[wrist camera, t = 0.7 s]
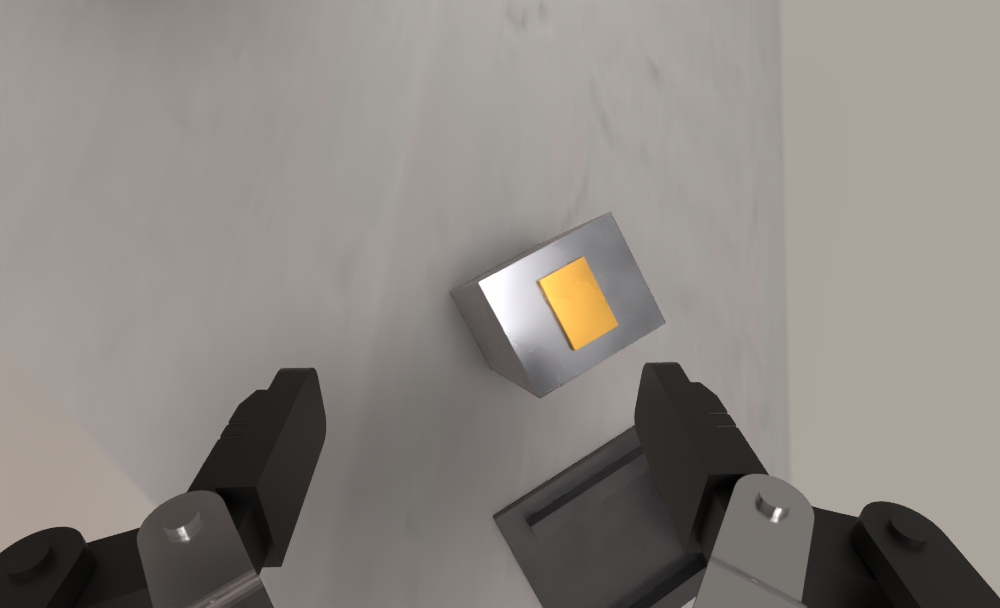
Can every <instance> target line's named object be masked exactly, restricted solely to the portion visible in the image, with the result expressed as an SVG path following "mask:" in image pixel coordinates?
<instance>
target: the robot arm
mask: <svg viewBox="0 0 1000 608" xmlns="http://www.w3.org/2000/svg"><path fill="white" fill-rule="evenodd" d="M634 419H635V429H636V433H637V436H638V439H639V441H640V444H641V446H642V449H643V451H644V454H645V456H646V459H647V461H648V464H649V466H650V469H651V471H652V474H653V476H654V479H655V481H656V484H657V486H658V489H659V491H660V494H661V496H662V499H663V501H664V504H665V506H666V509H667V511H668V513H669V516H670V518H671V521H672V523H673V526H674V528H675V531H676V533H677V536H678V538H679V541H680V543H681V546H682V548H683V551H684V553H697V552H703V554H704V556H705V558H706V561H707V563H708V564H707V567H706V570H705V573H704V576H703V579H702V582H701V585H700V587H699V590H698V593H697V596H696V599H695V602H694V605H693V608H1000V598H999V597H998V596H997V594H996V593H995V592H994V591H993V590H992V588H991V587H990V586H989V585H988V584H987V583H986V582H985V580H984V579H983V578H982V577H981V576H980V574H979V573H978V572H977V571H976V570H975V569H974V568H973V566H972V565H971V564H970V563H969V562H968V560H967V559H966V558H965V557H964V556H963V555H962V553H961V552H960V551H959V550H958V549H957V548H956V546H955V545H954V544H953V543H952V542H951V541H950V539H949V538H948V537H947V536H946V535H945V534H944V533H943V532H942V530H941V529H940V528H938V527H937V526H936V525H935V524H934V523H933V522H931V521H930V520H929V519H927V518H926V517H924V516H922V515H921V514H919V513H918V512H916V511H914V510H912V509H910V508H907V507H905V506H902V505H899V504H895V503H891V502H882V501H880V502H873V503H870V504H868V505H866V506H865V507H864V508H863V510H862V512H861V514H860V516H859V517H854V516H850V515H846V514H841V513H837V512H833V511H828V510H824V509H820V508H816V507H813V506H811V505H810V503H809V501H808V500H807V499H806V498H805V496H804V495H803V494H802V493H801V492H800V491H798V490H797V489H796V488H795V487H793V486H792V485H790V484H789V483H787V482H785V481H783V480H781V479H779V478H776V477H773V476H769V474H768V473H767V471H766V470H765V468H764V467H763V465H762V464H761V462H760V461H759V459H758V457H757V456H756V454H755V453H754V451H753V450H752V448H751V447H750V445H749V444H748V442H747V441H746V439H745V438H744V436H743V435H742V433H741V432H740V430H739V429H738V428H736V424H735V422H734V421H733V419H732V418H731V416H730V415H728V414H727V410H726V409H725V407H724V406H723V404H722V403H721V401H720V400H719V398H718V397H717V395H715V394H714V393H713V392H712V391H710V390H709V389H708V388H706V387H705V386H704V385H703V384H701V383H700V382H690V381H689V379H688V378H687V376H686V374H685V373H684V371H683V369H682V368H681V366H680V365H679V364H678V363H677V362H662V363H646V364H645V365H644V367H643V370H642V375H641V381H640V386H639V391H638V396H637V402H636V407H635V415H634ZM325 435H326V416H325V410H324V405H323V400H322V395H321V390H320V385H319V380H318V376H317V372H316V370H315V369H314V368H281V369H280V370H279V371H278V372H277V374H276V376H275V378H274V380H273V382H272V383H271V385H270V387H269V389H268V390H256V391H255V392H254V393H253V394H251V395H250V396H249V397H248V398H247V399H245V400H244V401H243V402H242V403H241V404H239V406H238V407H237V409H236V411H235V412H234V414H233V416H232V417H231V419H230V421H229V425H227V426H226V427H225V429H224V431H223V432H222V434H221V436H220V437H221V438H220V440H218V441H217V442H216V444H215V446H214V447H213V449H212V451H211V452H210V454H209V456H208V457H207V459H206V461H205V462H204V464H203V466H202V468H201V469H200V471H199V473H198V474H197V476H196V478H195V479H194V481H193V483H192V484H191V486H190V488H189V489H188V491H187V493H184V494H181V495H178V496H176V497H174V498H172V499H170V500H168V501H166V502H165V503H163V504H161V505H160V506H159V507H157V508H156V509H155V510H154V511H153V512H152V513H151V514H150V515H149V516H148V517H147V518H146V519H145V520H144V522H143V524H142V525H141V527H140V528H137V529H134V530H131V531H127V532H124V533H121V534H117V535H113V536H109V537H106V538H103V539H99V540H96V541H92V542H89V543H86V541H85V540H84V538H83V536H82V535H81V533H80V532H79V531H77V530H76V529H73V528H69V527H55V528H49V529H45V530H42V531H39V532H36V533H33V534H31V535H29V536H27V537H24V538H23V539H21V540H19V541H17V542H15V543H14V544H13V545H11V546H9V547H8V548H6V549H5V550H4V551H2V552H1V553H0V608H274V607H273V605H272V603H271V601H270V599H269V596H268V594H267V592H266V590H265V587H264V585H263V583H262V581H261V579H260V577H259V574H260V572H261V569H262V567H281V566H282V563H283V560H284V557H285V554H286V552H287V549H288V546H289V543H290V540H291V537H292V534H293V531H294V528H295V525H296V522H297V520H298V517H299V514H300V511H301V508H302V505H303V502H304V499H305V496H306V493H307V490H308V488H309V485H310V482H311V479H312V476H313V473H314V470H315V467H316V464H317V461H318V458H319V456H320V453H321V450H322V447H323V444H324V440H325Z"/></svg>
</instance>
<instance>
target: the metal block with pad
mask: <svg viewBox="0 0 1000 608" xmlns="http://www.w3.org/2000/svg"><path fill="white" fill-rule="evenodd" d="M450 294H451V296H452V298H453V300H454V301H455V303H456V305H457V307H458V309H459V311H460V313H461V314H462V316H463V318H464V320H465V322H466V324H467V326H468V327H469V329H470V331H471V333H472V335H473V337H474V339H475V341H476V342H477V344H478V346H479V348H480V350H481V352H482V354H483V355H484V357H485V359H486V361H487V363H488V365H489V367H490V368H491V369H492V370H494V371H495V372H497V373H499V374H500V375H502V376H504V377H505V378H507V379H508V380H510V381H512V382H513V383H515V384H517V385H518V386H520V387H522V388H523V389H525V390H527V391H528V392H530V393H532V394H533V395H535V396H537V397H538V398H542V397H543V396H545V395H547V394H548V393H550V392H552V391H553V390H555V389H557V388H558V387H560V386H562V385H563V384H565V383H567V382H568V381H570V380H572V379H573V378H575V377H577V376H578V375H580V374H582V373H583V372H585V371H587V370H588V369H590V368H592V367H593V366H595V365H597V364H598V363H600V362H602V361H603V360H605V359H607V358H608V357H610V356H612V355H613V354H615V353H617V352H618V351H620V350H622V349H623V348H625V347H627V346H628V345H630V344H632V343H633V342H635V341H637V340H638V339H640V338H642V337H643V336H645V335H647V334H648V333H650V332H652V331H653V330H655V329H657V328H658V327H660V326H662V325H663V324H665V323H666V322H665V320H664V318H663V316H662V314H661V312H660V310H659V308H658V306H657V304H656V302H655V300H654V298H653V296H652V294H651V292H650V290H649V288H648V286H647V284H646V282H645V280H644V278H643V276H642V274H641V272H640V270H639V268H638V266H637V264H636V262H635V259H634V257H633V255H632V253H631V251H630V249H629V247H628V245H627V243H626V241H625V239H624V237H623V235H622V233H621V231H620V229H619V227H618V225H617V223H616V221H615V219H614V217H613V215H612V213H611V212H609V213H606V214H604V215H602V216H600V217H598V218H595V219H593V220H591V221H589V222H587V223H584V224H582V225H580V226H578V227H576V228H573V229H571V230H569V231H567V232H564V233H562V234H560V235H558V236H556V237H553V238H551V239H549V240H547V241H545V242H542V243H540V244H538V245H536V246H534V247H533V248H531V249H529V250H527V251H525V252H523V253H521V254H519V255H517V256H516V257H514V258H512V259H510V260H508V261H506V262H504V263H502V264H501V265H499V266H497V267H495V268H493V269H491V270H489V271H487V272H486V273H484V274H482V275H480V276H478V277H476V278H474V279H472V280H471V281H469V282H467V283H465V284H463V285H461V286H459V287H457V288H456V289H454V290H452V291H450Z"/></svg>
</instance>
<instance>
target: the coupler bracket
mask: <svg viewBox="0 0 1000 608" xmlns="http://www.w3.org/2000/svg"><path fill="white" fill-rule="evenodd" d="M493 517H494V519H495V521H496V522H497V524H498V526H499V528H500V530H501V531H502V533H503V535H504V537H505V539H506V541H507V542H508V544H509V546H510V548H511V550H512V551H513V553H514V555H515V557H516V559H517V560H518V562H519V564H520V566H521V568H522V569H523V571H524V573H525V575H526V577H527V579H528V580H529V582H530V584H531V586H532V588H533V589H534V591H535V593H536V595H537V597H538V598H539V600H540V602H541V604H542V606H543V607H544V608H681V607H682V606H683V605H685V604H686V603H688V602H689V601H690V600H692V599H693V598H694V597H696V596H697V593H698V590H699V587H700V585H701V582H702V579H703V576H704V573H705V570H706V567H707V564H708V563H707V561H706V558H705V556H704V554H703V552H697V553H684V551H683V548H682V546H681V543H680V541H679V538H678V536H677V533H676V531H675V528H674V526H673V523H672V521H671V518H670V516H669V513H668V511H667V509H666V506H665V504H664V501H663V499H662V496H661V494H660V491H659V489H658V486H657V484H656V481H655V479H654V476H653V474H652V471H651V469H650V466H649V464H648V461H647V459H646V456H645V454H644V451H643V449H642V446H641V444H640V441H639V439H638V436H637V433H636V429H635V426H633V427H632V428H630V429H629V430H627V431H626V432H624V433H622V434H621V435H619V436H618V437H616V438H615V439H613V440H612V441H610V442H608V443H607V444H605V445H604V446H602V447H601V448H599V449H597V450H596V451H594V452H593V453H591V454H590V455H588V456H586V457H585V458H583V459H582V460H580V461H579V462H577V463H576V464H574V465H572V466H571V467H569V468H568V469H566V470H565V471H563V472H561V473H560V474H558V475H557V476H555V477H554V478H552V479H551V480H549V481H547V482H546V483H544V484H543V485H541V486H540V487H538V488H536V489H535V490H533V491H532V492H530V493H529V494H527V495H525V496H524V497H522V498H521V499H519V500H518V501H516V502H515V503H513V504H511V505H510V506H508V507H507V508H505V509H504V510H502V511H500V512H499V513H497V514H496V515H494V516H493Z"/></svg>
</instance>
